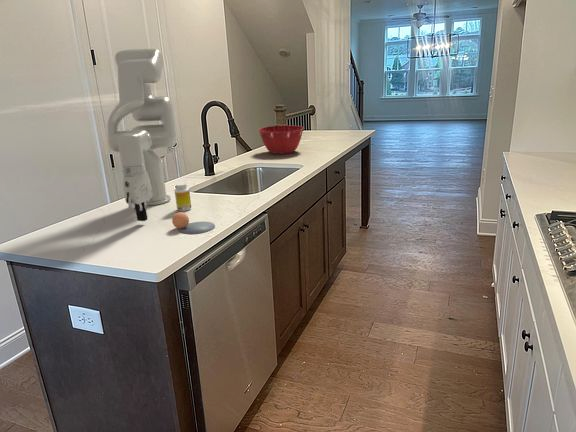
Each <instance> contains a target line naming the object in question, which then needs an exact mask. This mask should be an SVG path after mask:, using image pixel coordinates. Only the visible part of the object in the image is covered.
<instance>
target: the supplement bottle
mask: <svg viewBox="0 0 576 432" xmlns="http://www.w3.org/2000/svg"><path fill="white" fill-rule="evenodd" d="M190 192H191V191H190V188H188V186H187V183H186V182H179V183H176V184H175V189H174V196H175V203H176V205H175V206H176V210H178V211H179V212H186V211H190V210H191V209H192V202H191V195H190Z"/></svg>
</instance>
